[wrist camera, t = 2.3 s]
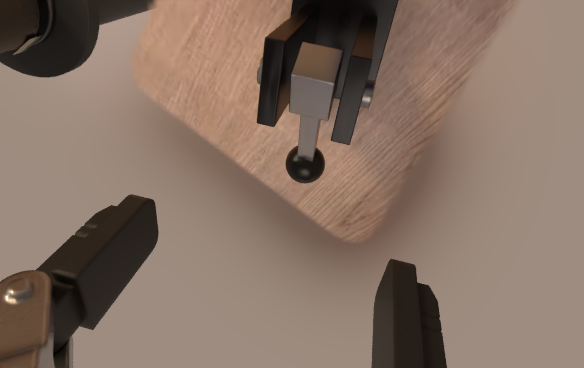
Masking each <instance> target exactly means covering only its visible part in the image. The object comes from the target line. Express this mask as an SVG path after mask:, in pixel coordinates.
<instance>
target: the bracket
mask: <svg viewBox="0 0 584 368" xmlns="http://www.w3.org/2000/svg"><path fill="white" fill-rule="evenodd" d="M397 4H398V0H293V2H292V10H291V17H290V18H289V19H288V20H286V21H285V22H284V23H283V24H281V25H280V26H279V27H278V28H276V29H275V30H274V31H273V32H271V33H270V34H269V35H268V36H267V37H265V42H264V53H263V57H262V59H261V60H260V63H259V66H258V71H257V82H258V84H260V94H259V104H258V114H257V123H258V124H263V125H267V126H271V127H275V125H276V123H277V122H278V120H279V118H280V117H281V115H282V113H283V112H284V110H285V108H286V107H287V105H288V103H289V97H290V74H291V71H292V69H293V66H294V63H295V60H296V58H297V55H298V52H299V50H300V47H301V44H302V42H306V43H311V44H315V45H320V46H325V47H330V48H334V49H339V50H344V55H343V60H342V65H341V70H340V75H339V80H338V85H337V90H336V94H335V97H334V98H338V99H340V103H339V107H338V111H337V116H336V120H335V124H334V128H333V133H332V137H331V141H334V142H338V143H343V144H347V145H350V142H351V138H352V135H353V131H354V127H355V123H356V120H357V116H358V112H359V109H360V107H364V108H369V106H370V103H371V100H372V96H373V92H374V88H375V81H376V77H377V74H378V70H379V67H380V63H381V60H382V56H383V53H384V49H385V46H386V42H387V39H388V35H389V32H390V28H391V25H392V21H393V18H394V14H395V11H396V7H397Z"/></svg>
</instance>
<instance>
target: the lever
mask: <svg viewBox="0 0 584 368" xmlns="http://www.w3.org/2000/svg"><path fill="white" fill-rule="evenodd" d="M343 55H344V50H339V49H334V48H330V47H325V46H320V45H315V44H311V43H306V42H302V44H301V47H300V50H299V52H298V55H297V58H296V60H295V63H294V66H293V69H292V71H291V74H290V97H289V112H291V113H295V114H300V115H301V119H300V130H299V142H298V146H296V147H294V148H293V149H292V150H291V151H290V152H289V154H288V156H287V158H286V169H287V172H288V174H289V175H290V177H291V178H292V179H294V180H295V181H297V182H300V183H311V182H313V181H315V180H317V179H318V178H319V177H320V176H321V175H322V173H323V171H324V168H325V160H324V156H323V154H322V153H321V151H320V150H319V149H318V148H316V146H317V140H318V134H319V128H320V122H321V120H326V121H328V119H329V116H330V112H331V108H332V105H333V101H334V97H335V94H336V90H337V85H338V80H339V75H340V70H341V65H342V60H343Z"/></svg>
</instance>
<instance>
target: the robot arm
mask: <svg viewBox="0 0 584 368" xmlns="http://www.w3.org/2000/svg"><path fill="white" fill-rule="evenodd" d="M55 18H56V10H55V2H54V0H0V54H1V53H5V52H8V51H11V50H15V49H18V48H20V49H19V50H17V51H16V52H15V53H14V54H13V55H15V54H18V53H21V52H24V51H26V50H27V49H28V48H29V47H30V46H33V45H36V44H39V43H41V42H43V41H45V40H46V39H47V38H48V37H49V36H50V34H51V33H52V31H53V28H54V25H55ZM157 240H158V224H157V216H156V207H155V202H154V200H152V199H149V198H144V197H140V196H136V195H128V196H127V197H126V198H125V199H124V200H123V201H122V202H121V203H120V204H119V205H118V206H112V205H111V206H109V207H107V208H105V209H103V210H101V211H100V212H98V213H96V214H95V215H94V216H93V217H92V218H90V219H89V220H88V221H87V222H86V223H85V225H84V226H82V227H81V228H80V229H79V230H78V231H77V232H76V233H75V235H72V236H71V237H70V238H69V239H68V240H67V241H66V242H65V243H64V244H63V245H62V246H61V247H60V248H59V249H58V250H57V251H56V252H54V253H53V254H52V255H51V256H50V257H49V258H48V259H47V260H46V261H45V262H44V263H43V264H42V265H41V266H40V267H39V268H37V269H36V270H30V271H29V270H28V271H22V272H19V273H16V274H13V275H11V276H9V277H7V278H5V279H3V280H2V281H1V282H0V368H73V337H72V335H73V333H74V332H75V331H76V329H77V328H78V327H79V326H81V327H84V328H88V329H91V330H93V329H94V328H95V327H96V325H97V324H98V323H99V321H100V320H101V318H102V317H103V316H104V315H105V313H106V312H107V310H108V309H109V308H110V307H111V305H112V304H113V303H114V301H115V300H116V299H117V297H118V296H119V294H120V293H121V292H122V291H123V289H124V288H125V287H126V285H127V284H128V283H129V281H130V280H131V279H132V277H133V276H134V275H135V273H136V272H137V270H138V269H139V268H140V267H141V265H142V264H143V263H144V261H145V260H146V259H147V257H148V256H149V255H150V253H151V252H152V251H153V249H154V247H155V245H156V243H157ZM416 276H417V275H416V267H415V265H414V264H410V263H406V262H402V261H398V260H394V259H390V260H389V262H388V265H387V267H386V270H385V272H384V275H383V277H382V280H381V282H380V284H379V287H378V290H377V293H376V297H375V303H374V318H373V345H372V368H447V365H446V358H445V351H444V343H443V336H442V333H441V330H442V329H441V322H440V320H439V317H440V315H439V307H438V301H437V299H436V297H435V295H434V294H433V292H432V290H431V288H430V287H429V286H428V285H425V284H420V283H417V277H416Z"/></svg>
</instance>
